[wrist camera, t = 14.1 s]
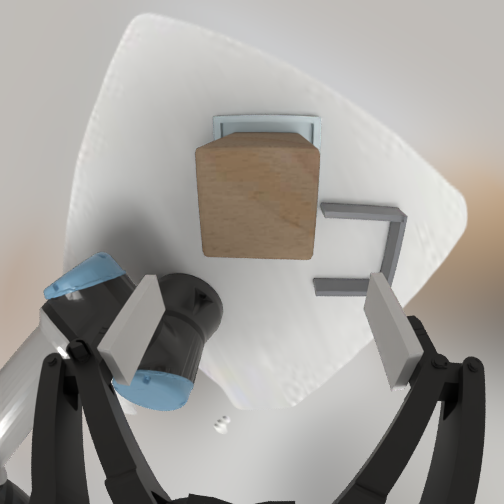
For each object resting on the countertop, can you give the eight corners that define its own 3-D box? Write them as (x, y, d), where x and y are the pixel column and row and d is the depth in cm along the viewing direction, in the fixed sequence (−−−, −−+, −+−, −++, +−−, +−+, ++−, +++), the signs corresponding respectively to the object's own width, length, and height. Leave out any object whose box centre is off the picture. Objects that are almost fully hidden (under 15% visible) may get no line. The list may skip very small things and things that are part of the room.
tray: (220, 209, 45) (217, 214, 43) (216, 116, 38) (213, 116, 36) (314, 211, 44) (316, 217, 42) (318, 116, 37) (321, 117, 35)
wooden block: (231, 132, 39) (193, 147, 21) (300, 132, 38) (321, 148, 20) (233, 196, 43) (202, 258, 26) (298, 197, 42) (313, 262, 25)
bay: (313, 282, 50) (315, 296, 46) (321, 202, 43) (325, 211, 40) (382, 283, 49) (388, 295, 45) (398, 207, 42) (407, 216, 38)
